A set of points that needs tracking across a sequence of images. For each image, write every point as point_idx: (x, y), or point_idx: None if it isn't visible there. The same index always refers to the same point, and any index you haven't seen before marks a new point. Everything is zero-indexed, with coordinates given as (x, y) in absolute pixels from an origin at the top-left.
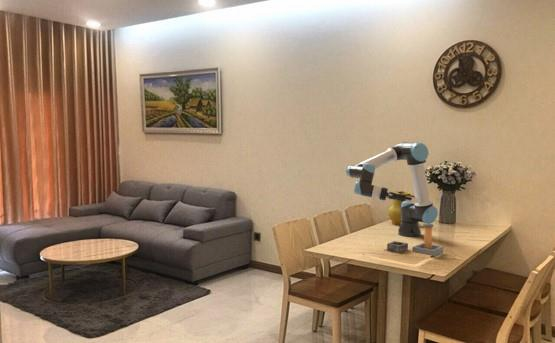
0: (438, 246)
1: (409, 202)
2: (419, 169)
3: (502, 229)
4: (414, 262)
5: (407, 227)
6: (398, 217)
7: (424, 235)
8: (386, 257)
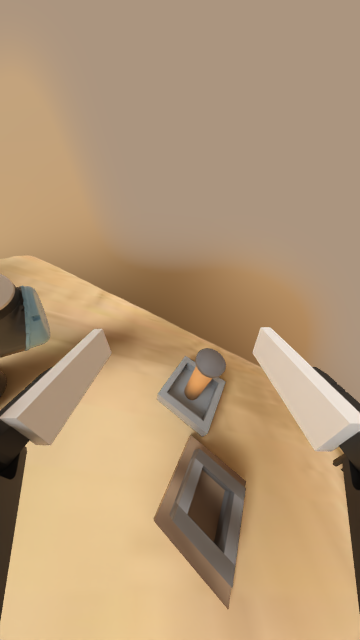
0: (185, 364)
1: (92, 379)
2: None
3: (49, 264)
4: (276, 443)
5: None
6: None
7: (202, 385)
8: (281, 573)
